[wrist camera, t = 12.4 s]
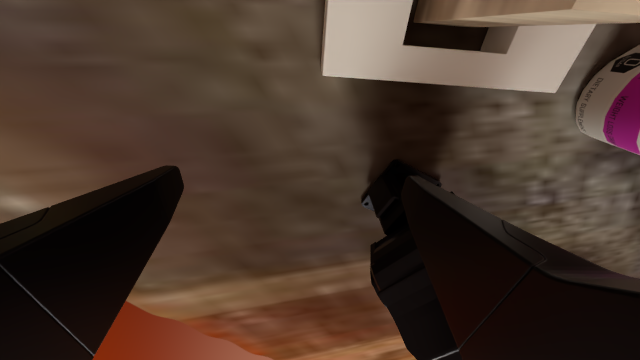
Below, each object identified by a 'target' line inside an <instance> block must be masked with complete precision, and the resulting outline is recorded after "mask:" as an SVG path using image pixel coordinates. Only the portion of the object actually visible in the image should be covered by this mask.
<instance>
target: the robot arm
mask: <svg viewBox="0 0 640 360" xmlns="http://www.w3.org/2000/svg"><path fill="white" fill-rule="evenodd" d="M395 164H398V165H397V166H395ZM436 184H437V185H436ZM440 187H441V183H440V181H438V180H437V179H435V178H433V177H431V176H429V175H427V174H425V173H423V172H421V171H419V170H417V169H415V168H413V167H411V166H409V165H408V164H406V163H404V162H402V161H400V160H394V161H392V163H391V164H390V165H389V166H388V168H387V169H386V170H385V172H384V173H383V174H382V175H380V176H379V178H378V179H377V180H376V182H375V183H374V184H373V185H372V187H371V188H370V189H369V191H368V193H367V195H366V196H365V197H364V198H363V200H362V201H361V203H362V206H363V207H365V208H368V209H370V210H372V211H375V214H376V217H377V218H379V220H380V223H381V226H382V228H383V231H384V233H385V234H386V235H387V236H386V237H384V238H383V239H381V240H380V241H378V242H377V243H376V242H375V243H373V244H372V245H371V268H370V274H371V283H372V285H373V287H374V289H375V291H376V293H377V295H378V297H379V298H380V300H381V301H382V303H383V304H384V305H385V306H386V307H387V308H388V310H389V312H390V314H391V315H392V317H393V319H394V321H395V323H396V325H397V327H398V329H399V332H400V334H401V336H402V339H403V341H404V343H405V346H406V348H407V349H408V351H409V352H410V353H411V354H412V355H413V356H414V357H415V358H416V359H417V360H640V279H638V278H633V277H629V276H625V275H622V274H619V273H616V272H613V271H610V270H608V269H605V268H603V267H601V266H599V265H596V264H594V263H592V262H590V261H588V260H586V259H583V258H581V257H579V256H577V255H575V254H573V253H571V252H568V251H566V250H564V249H562V248H560V247H558V246H555V245H553V244H551V243H549V242H547V241H545V240H543V239H541V238H539V237H536V236H534V235H532V234H530V233H528V232H526V231H524V230H522V229H520V228H518V227H516V226H514V225H512V224H510V223H508V222H506V221H504V220H501V219H500V218H499V217H497V216H495V215H493V214H491V213H489V212H487V211H485V210H483V209H481V208H479V207H477V206H475V205H473V204H471V203H469V202H467V201H465V200H464V199H462V198H460V197H458V196H456V195H455V194H454V193H453V192H452V191H451V192H448V191H446V190H444V189H442V188H440ZM183 189H184V184H183V180H182V177H181V173H180V170H179V168H178V167H177V166H162V167H160V168H157V169H154V170H151V171H148V172H146V173H143V174H140V175H137V176H134V177H131V178H129V179H126V180H123V181H120V182H117V183H115V184H112V185H109V186H106V187H103V188H101V189H98V190H95V191H92V192H89V193H86V194H84V195H81V196H78V197H75V198H72V199H70V200H67V201H64V202H61V203H58V204H56V205H53V206H51V207H50V208H49V207H47V208H44V209H41V210H39V211H36V212H33V213H30V214H27V215H24V216H21V217H18V218H16V219H13V220H10V221H7V222H4V223H1V224H0V360H92V359H93V358H94V357H93V356H94V355H95V354H96V352H97V350H98V348H99V347H100V345H101V343H102V341H103V340H104V338H105V336H106V334H107V333H108V331H109V329H110V327H111V325H112V324H113V322H114V320H115V318H116V317H117V315H118V313H119V311H120V309H121V307H122V306H123V304H124V303H125V301H126V299H127V297H128V296H129V294H130V292H131V290H132V288H133V287H134V285H135V283H136V281H137V280H138V278H139V276H140V274H141V273H142V271H143V269H144V267H145V266H146V264H147V262H148V260H149V258H150V257H151V255H152V253H153V251H154V250H155V248H156V246H157V244H158V243H159V241H160V239H161V237H162V236H163V234H164V232H165V230H166V228H167V227H168V225H169V223H170V221H171V219H172V216H173V214H174V212H175V209H176V207H177V204H178V202H179V200H180V197H181V195H182V192H183ZM365 202H368V203H365Z"/></svg>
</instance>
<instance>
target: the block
mask: <svg viewBox="0 0 640 360" xmlns="http://www.w3.org/2000/svg"><path fill="white" fill-rule="evenodd" d="M413 23H423V24H436V25H448V26H460V27H499V26H537V25H574V24H612V23H640V0H418V4H417V8H416V12H415V17H414V21H413Z"/></svg>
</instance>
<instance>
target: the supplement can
mask: <svg viewBox="0 0 640 360" xmlns="http://www.w3.org/2000/svg"><path fill="white" fill-rule="evenodd" d="M576 123H577V126H578V128H579V130H580V131H581V132H582V133H584V134H586V135H588V136H590V137H593V138H595V139H598V140H601V141H603V142H606V143H609V144H611V145H614V146H617V147H619V148H622V149H625V150H627V151H630V152H633V153H635V154H638V155H640V45H638V46H636V47H635V48H633V49H631V50H630V51H628V52H626V53H625V54H623V55H621V56H619V57H618V58H616V59H614V60H613V61H611V62H609V63H608V64H607V65H606V66H605V67H604V68H602V69H601V70H600V71H599V72H598V73H597V74H596V75H594V77H593V78H592V79H591V81H590V82H589V83H588V84H587V86H586V87H585V88H584V89H583V91H582V93H581V96H580V98H579V100H578V102H577V105H576Z"/></svg>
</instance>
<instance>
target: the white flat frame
mask: <svg viewBox="0 0 640 360" xmlns="http://www.w3.org/2000/svg"><path fill="white" fill-rule="evenodd" d="M412 2H413V0H325V13H324V28H323V42H322V57H321V73H322V76H334V77H347V78H361V79H374V80H387V81H401V82H414V83H428V84H441V85H455V86H468V87H481V88H495V89H508V90H522V91H535V92H549V93H556V91H557V89H558V88H559V86H560V84H561V82H562V81H563V79H564V77H565V76H566V74H567V72H568V71H569V69H570V67H571V66H572V64H573V62H574V61H575V59H576V57H577V56H578V54H579V52H580V51H581V49H582V47H583V46H584V44H585V42H586V40H587V39H588V37H589V35H590V34H591V32H592V30H593V29H594V27H595V25H596V24H574V25H537V26H499V27H489V29H488V31H487V34H486V36H485V39H484V41H483V44H482V46H481V49H480V51H471V50H459V49H448V48H436V47H425V46H413V45H403V41H404V37H405V33H406V28H407V24H408V20H409V15H410V11H411V7H412Z"/></svg>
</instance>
